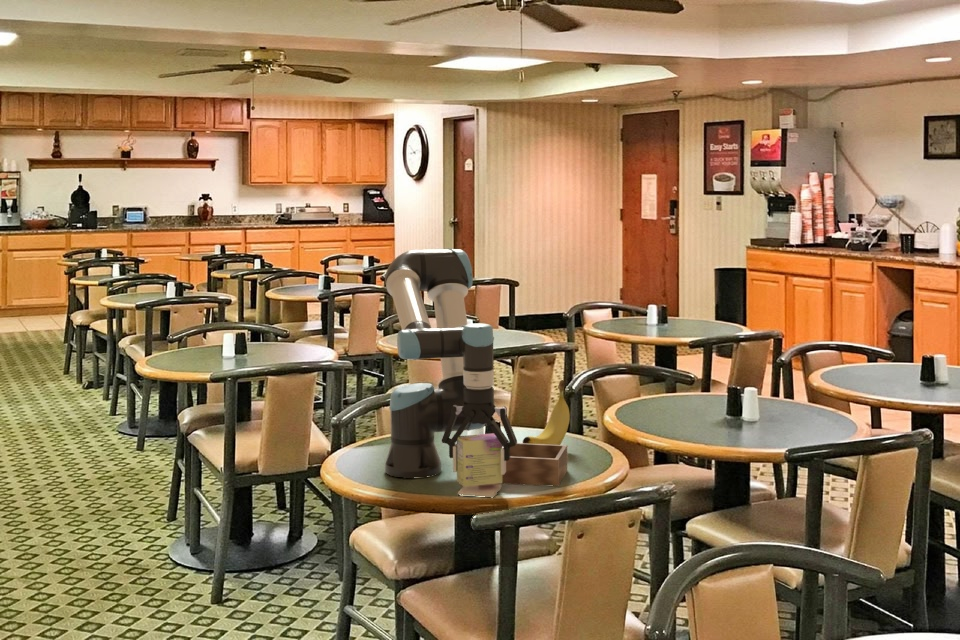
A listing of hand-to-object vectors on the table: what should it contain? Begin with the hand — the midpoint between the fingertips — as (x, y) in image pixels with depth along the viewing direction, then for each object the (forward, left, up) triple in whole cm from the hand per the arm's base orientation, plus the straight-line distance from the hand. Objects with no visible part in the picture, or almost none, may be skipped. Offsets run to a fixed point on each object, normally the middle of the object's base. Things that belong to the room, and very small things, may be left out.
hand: (479, 471), depth 269 cm
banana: (+10, +39, -5) cm, 41 cm away
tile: (0, 0, -5) cm, 5 cm away
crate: (+8, +16, -5) cm, 19 cm away
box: (0, 0, -3) cm, 3 cm away
